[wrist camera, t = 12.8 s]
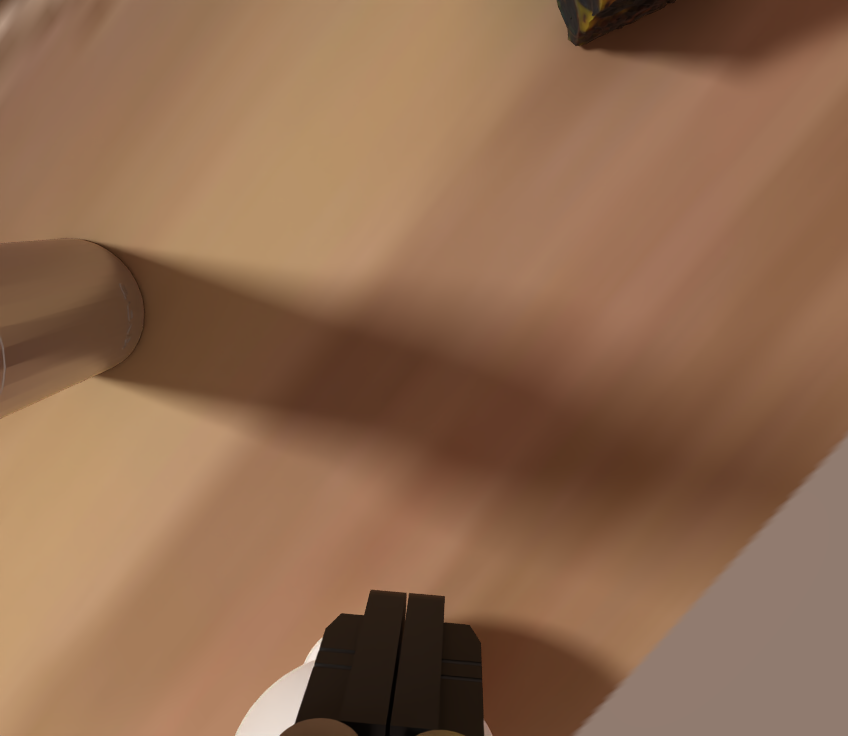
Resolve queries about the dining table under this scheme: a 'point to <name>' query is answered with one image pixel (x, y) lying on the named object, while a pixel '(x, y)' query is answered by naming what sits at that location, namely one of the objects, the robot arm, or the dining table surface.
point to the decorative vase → (284, 702)
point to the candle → (602, 16)
